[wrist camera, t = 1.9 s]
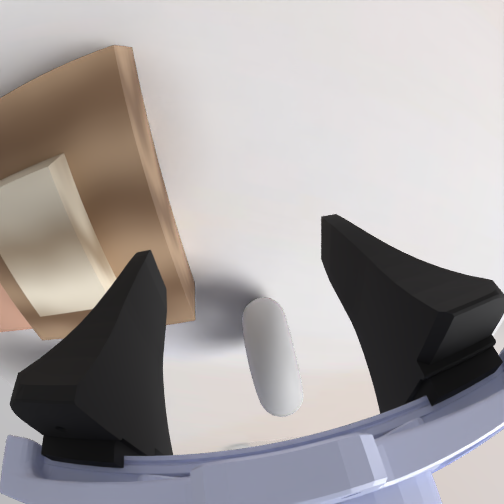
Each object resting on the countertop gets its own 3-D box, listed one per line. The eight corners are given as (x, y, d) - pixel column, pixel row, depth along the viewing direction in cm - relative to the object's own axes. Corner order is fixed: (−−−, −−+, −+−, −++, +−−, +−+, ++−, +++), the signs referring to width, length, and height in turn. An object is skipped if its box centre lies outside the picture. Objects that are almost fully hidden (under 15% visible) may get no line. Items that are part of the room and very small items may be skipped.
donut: (230, 277, 25) (247, 387, 17) (272, 266, 25) (305, 373, 17) (254, 347, 31) (272, 436, 23) (287, 339, 31) (311, 426, 23)
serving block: (194, 283, 24) (195, 320, 21) (54, 307, 24) (42, 340, 21) (132, 47, 14) (113, 45, 11) (-32, 126, 13) (-64, 145, 10)
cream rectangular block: (119, 283, 18) (113, 305, 17) (49, 296, 18) (40, 316, 17) (63, 152, 13) (48, 166, 11) (-10, 185, 13) (-27, 200, 11)
